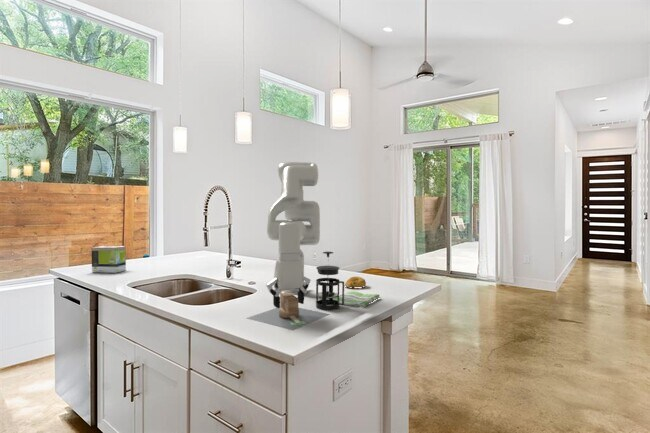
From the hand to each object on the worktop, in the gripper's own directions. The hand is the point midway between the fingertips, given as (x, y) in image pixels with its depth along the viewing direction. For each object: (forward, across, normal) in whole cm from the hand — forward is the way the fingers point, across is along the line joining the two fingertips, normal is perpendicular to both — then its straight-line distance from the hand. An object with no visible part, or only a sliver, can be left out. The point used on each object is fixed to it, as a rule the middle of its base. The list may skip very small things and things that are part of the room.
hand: (289, 305), depth 134 cm
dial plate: (+5, 0, 0) cm, 5 cm away
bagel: (+6, -53, -28) cm, 61 cm away
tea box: (+6, +44, -137) cm, 144 cm away
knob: (+4, 0, +2) cm, 4 cm away
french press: (+6, -19, -2) cm, 20 cm away
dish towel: (+6, -34, -7) cm, 36 cm away
